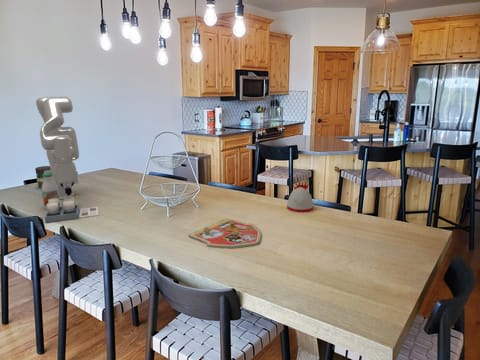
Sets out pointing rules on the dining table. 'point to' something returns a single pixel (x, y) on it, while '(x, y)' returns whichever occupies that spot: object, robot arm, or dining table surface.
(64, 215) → the button board
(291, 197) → the grey red dome
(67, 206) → the button
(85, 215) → the card
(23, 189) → the dining table surface
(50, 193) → the milk bottle
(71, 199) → the button
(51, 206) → the button
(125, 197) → the dining table surface
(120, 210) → the dining table surface
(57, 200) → the button
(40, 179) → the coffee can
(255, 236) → the coat of arms plaque
